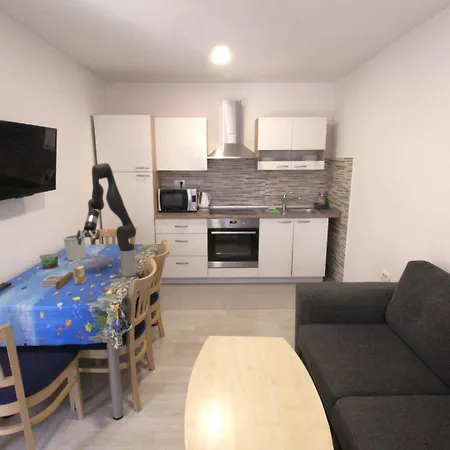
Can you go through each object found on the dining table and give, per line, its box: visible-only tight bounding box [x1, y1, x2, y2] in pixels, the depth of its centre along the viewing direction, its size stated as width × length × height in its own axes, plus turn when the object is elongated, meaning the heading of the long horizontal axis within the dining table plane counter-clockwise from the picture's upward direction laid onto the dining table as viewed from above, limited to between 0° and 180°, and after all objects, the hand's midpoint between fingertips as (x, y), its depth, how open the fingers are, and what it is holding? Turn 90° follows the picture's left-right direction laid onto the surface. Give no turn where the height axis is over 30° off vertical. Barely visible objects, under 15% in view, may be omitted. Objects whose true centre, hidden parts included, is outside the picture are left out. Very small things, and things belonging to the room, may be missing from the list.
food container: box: [39, 252, 59, 270], centre depth 227 cm, size 12×6×10 cm, turn 105°
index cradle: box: [41, 274, 63, 287], centre depth 198 cm, size 8×8×4 cm
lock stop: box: [73, 265, 86, 285], centre depth 197 cm, size 4×4×10 cm
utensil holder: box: [62, 233, 87, 261], centre depth 248 cm, size 15×15×18 cm
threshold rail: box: [55, 271, 74, 290], centre depth 198 cm, size 2×18×4 cm, turn 1°
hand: (85, 244), depth 207 cm, fingers open, 8 cm apart
